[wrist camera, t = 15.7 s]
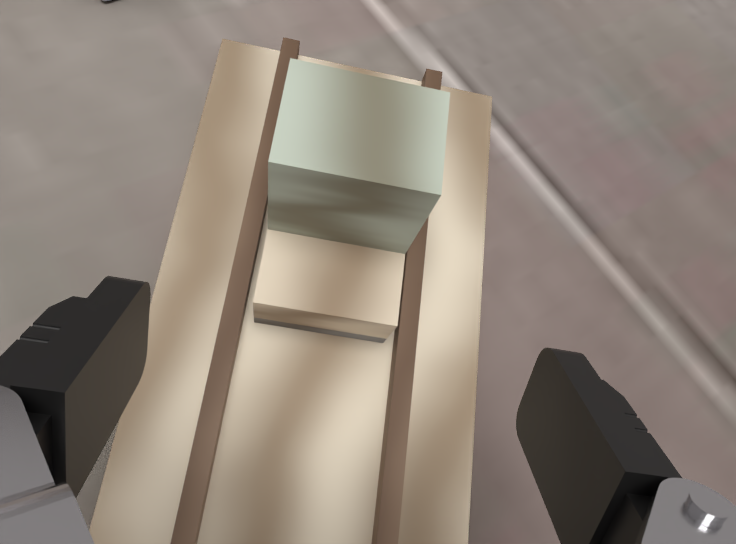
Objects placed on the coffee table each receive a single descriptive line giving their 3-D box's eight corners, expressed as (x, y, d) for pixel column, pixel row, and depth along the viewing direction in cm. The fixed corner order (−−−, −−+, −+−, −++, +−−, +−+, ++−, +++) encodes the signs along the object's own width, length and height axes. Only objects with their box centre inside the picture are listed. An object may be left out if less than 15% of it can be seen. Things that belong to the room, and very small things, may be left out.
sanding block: (254, 322, 24) (249, 251, 17) (294, 122, 28) (304, -10, 20) (382, 342, 25) (433, 283, 17) (406, 144, 28) (455, 24, 21)
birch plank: (77, 604, 21) (57, 618, 19) (224, 55, 30) (221, 23, 28) (452, 643, 22) (471, 659, 20) (483, 110, 31) (499, 84, 29)
